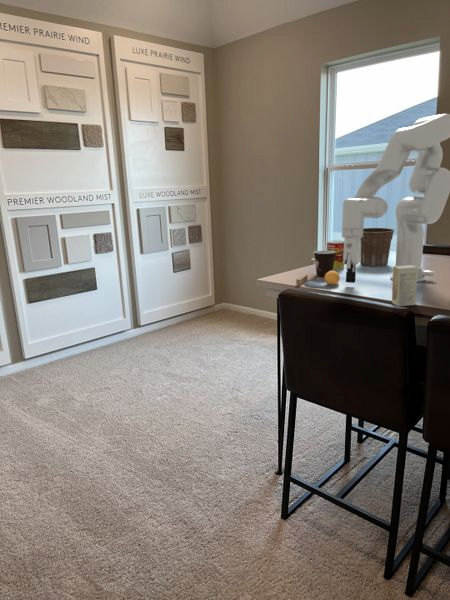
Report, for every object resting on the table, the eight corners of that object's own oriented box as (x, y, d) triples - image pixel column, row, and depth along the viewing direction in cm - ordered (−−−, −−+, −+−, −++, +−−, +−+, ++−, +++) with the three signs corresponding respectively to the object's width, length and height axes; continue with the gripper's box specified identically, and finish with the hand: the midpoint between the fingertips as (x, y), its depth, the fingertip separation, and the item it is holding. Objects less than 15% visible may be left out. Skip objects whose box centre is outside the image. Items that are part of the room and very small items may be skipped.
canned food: (324, 267, 208) (324, 241, 205) (340, 266, 209) (341, 240, 206) (329, 270, 201) (330, 243, 198) (346, 269, 201) (347, 242, 198)
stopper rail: (307, 280, 182) (307, 274, 181) (300, 286, 173) (300, 279, 172) (304, 280, 182) (304, 274, 182) (296, 285, 174) (296, 279, 173)
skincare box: (410, 302, 145) (412, 264, 142) (416, 305, 141) (418, 267, 138) (390, 302, 145) (392, 265, 142) (395, 306, 141) (398, 268, 138)
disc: (342, 281, 177) (342, 281, 177) (334, 289, 166) (334, 288, 166) (309, 279, 183) (309, 279, 183) (300, 286, 172) (300, 286, 171)
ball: (325, 270, 175) (327, 284, 176) (322, 273, 170) (324, 287, 171) (339, 268, 172) (341, 282, 173) (337, 271, 167) (339, 285, 168)
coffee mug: (335, 277, 185) (335, 253, 182) (313, 277, 187) (314, 253, 184) (334, 272, 196) (334, 249, 193) (314, 272, 198) (314, 249, 195)
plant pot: (395, 267, 200) (397, 231, 196) (358, 268, 203) (359, 232, 199) (388, 261, 216) (390, 227, 212) (354, 261, 218) (355, 228, 214)
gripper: (359, 235, 156) (357, 287, 161) (366, 231, 169) (364, 278, 174) (337, 235, 159) (336, 285, 164) (346, 230, 172) (344, 277, 177)
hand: (350, 282), depth 169 cm, fingers closed
